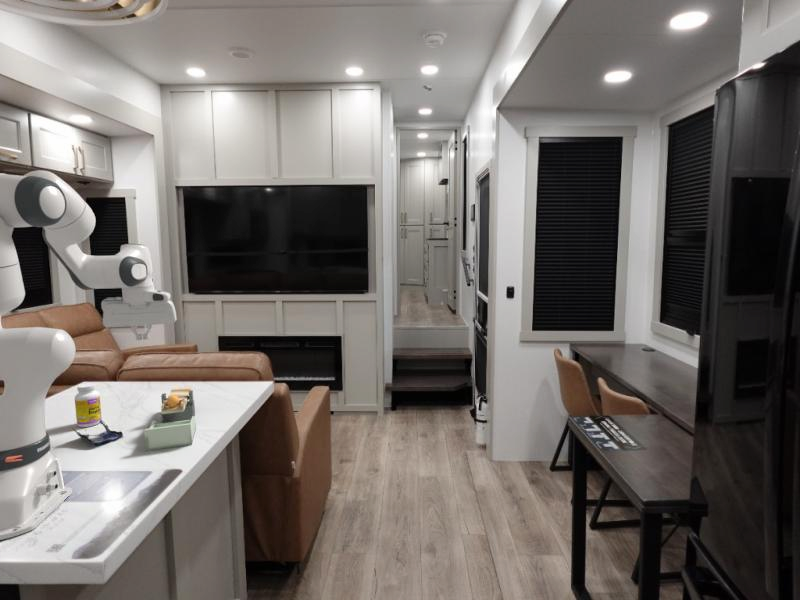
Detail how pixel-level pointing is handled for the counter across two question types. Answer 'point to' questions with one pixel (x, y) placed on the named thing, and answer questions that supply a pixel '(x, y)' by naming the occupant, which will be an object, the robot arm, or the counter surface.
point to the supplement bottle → (87, 405)
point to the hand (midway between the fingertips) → (142, 339)
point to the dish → (170, 434)
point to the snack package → (102, 435)
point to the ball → (173, 401)
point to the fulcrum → (180, 416)
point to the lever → (183, 397)
